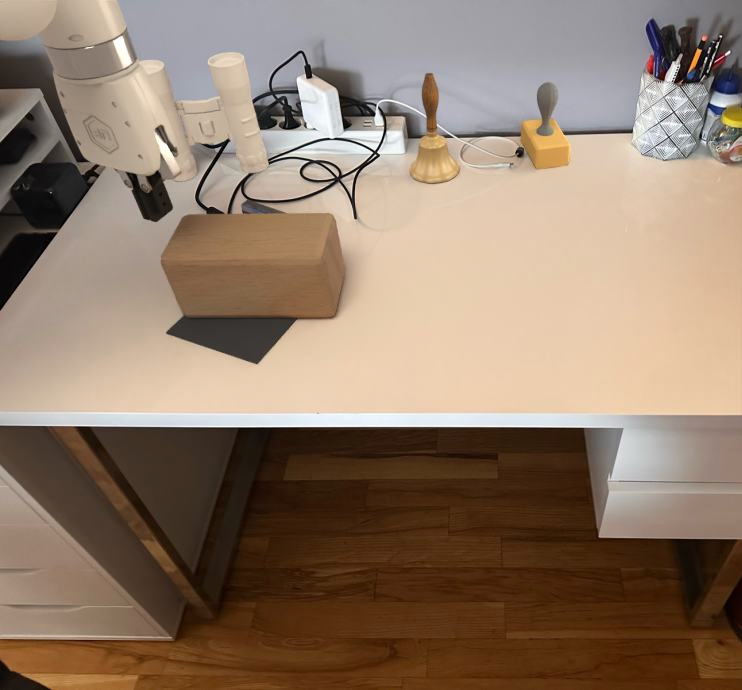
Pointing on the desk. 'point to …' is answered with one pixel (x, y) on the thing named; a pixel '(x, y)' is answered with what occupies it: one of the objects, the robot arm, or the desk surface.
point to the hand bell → (432, 143)
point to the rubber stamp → (545, 132)
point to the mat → (233, 334)
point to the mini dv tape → (257, 208)
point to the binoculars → (213, 114)
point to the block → (255, 265)
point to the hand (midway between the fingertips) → (159, 214)
